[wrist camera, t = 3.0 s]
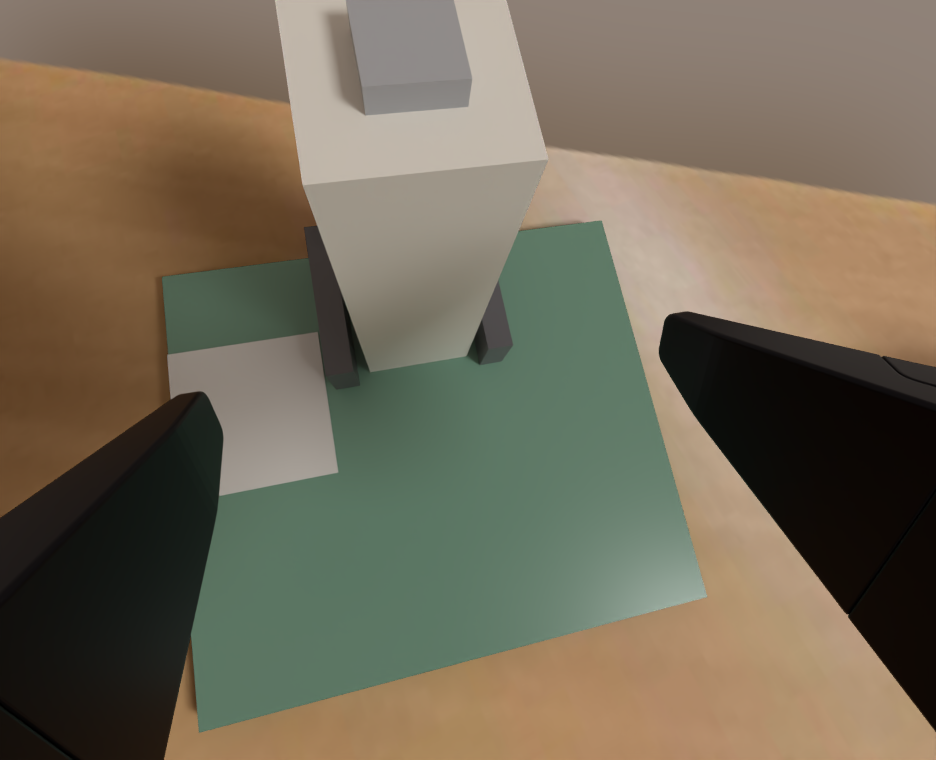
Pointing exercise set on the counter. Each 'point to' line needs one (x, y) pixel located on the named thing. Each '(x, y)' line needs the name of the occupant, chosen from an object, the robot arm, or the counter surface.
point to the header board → (420, 478)
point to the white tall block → (412, 160)
